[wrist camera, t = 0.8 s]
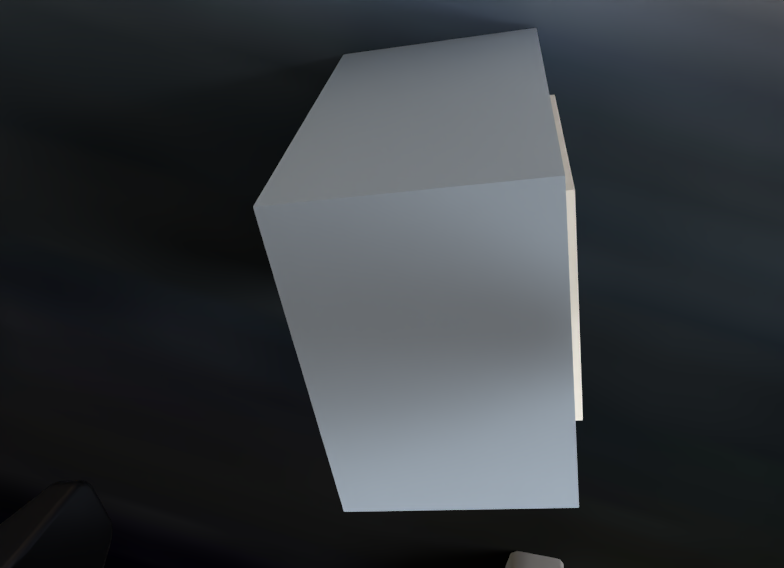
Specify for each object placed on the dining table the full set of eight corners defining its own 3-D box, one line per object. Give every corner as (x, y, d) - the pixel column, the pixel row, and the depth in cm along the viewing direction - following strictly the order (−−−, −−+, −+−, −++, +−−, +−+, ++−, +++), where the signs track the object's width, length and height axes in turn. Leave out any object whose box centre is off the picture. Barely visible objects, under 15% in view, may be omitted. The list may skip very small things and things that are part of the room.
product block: (546, 25, 15) (582, 173, 9) (559, 277, 18) (591, 507, 12) (343, 54, 15) (253, 206, 10) (390, 289, 18) (343, 511, 13)
